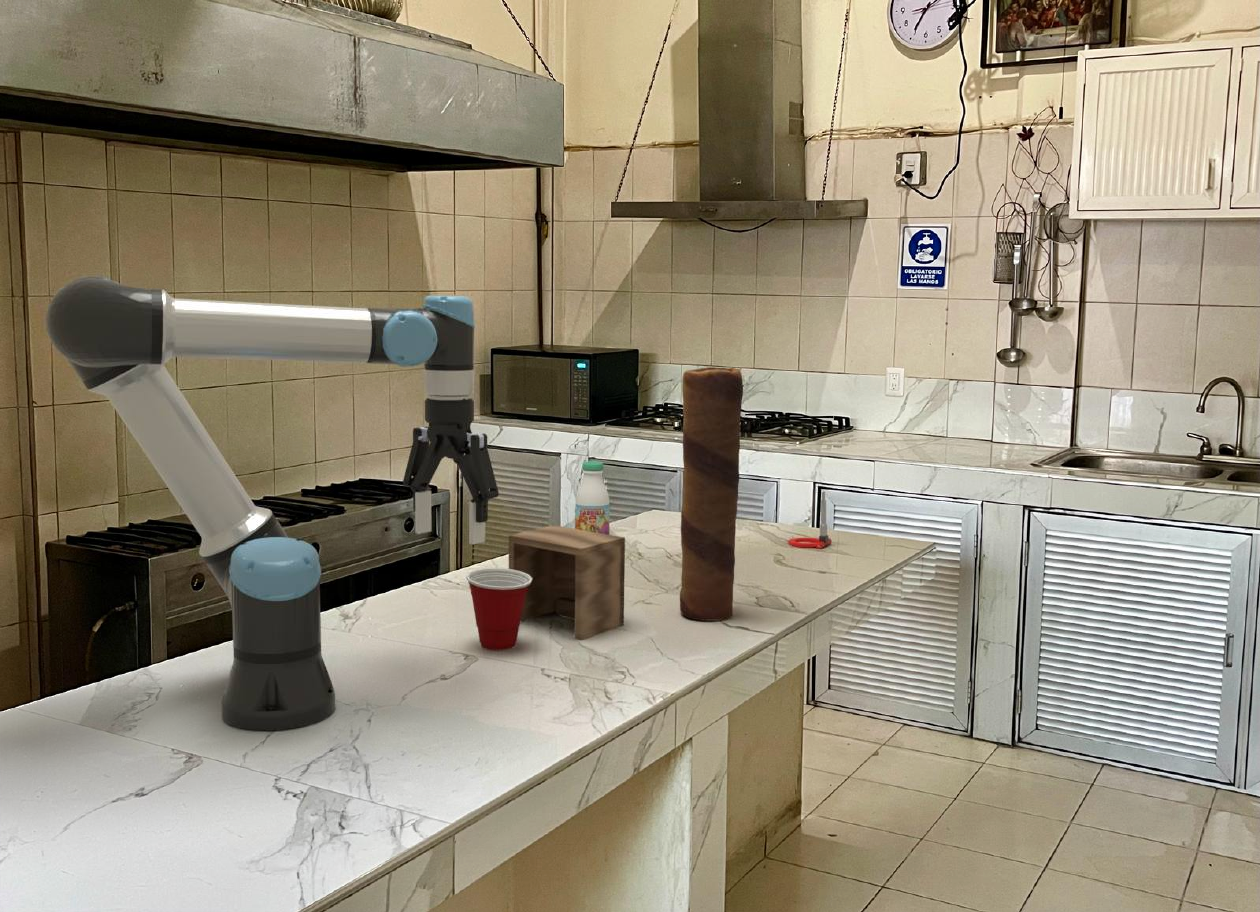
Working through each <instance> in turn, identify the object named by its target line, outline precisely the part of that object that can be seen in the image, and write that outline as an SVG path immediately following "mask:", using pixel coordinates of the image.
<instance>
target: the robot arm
mask: <svg viewBox="0 0 1260 912" xmlns="http://www.w3.org/2000/svg"><path fill="white" fill-rule="evenodd" d="M48 304H49V305H48V307H47V310H46V314H45V326H46V332H47V336H48V338H49V340H50V342H51V343H52V345H53V347H54V348H55V349H56V350H57V351H58V353H59V354H60V355H61V356H63V357H64V358H66V360H67V361H68V363H69V364H70V366H71V368H72V369H73V370H74V371H75V373H76V374H77V376H78V377H79V379H80V381H81V382H82V383H83V384H84V386H85V388H86V389H87V391H89V392H90V393H94V394H98V395H102V396H104V397H106V398H107V399H108V401H109V403H110V404H111V405H112V407H113V408H114V409H115V411H116V413H117V414H118V416H119V417H120V418H121V420H122V422H123V423H124V424H125V426H126V427H127V429H128V430H129V432H130V433H131V435H132V437H133V438H134V439H135V440H136V442H137V444H138V445H139V446H140V448H141V450H142V451H143V453H144V454H145V455H146V457H147V458H148V460H149V462H150V463H151V465H152V466H153V468H154V469H155V470H156V472H157V474H158V475H159V476H160V477H161V480H162V481H163V483H164V484H165V486H166V487H167V488H168V489H169V491H170V493H171V494H172V495H173V498H174V499H175V500H176V502H177V503H178V504H179V506H180V508H181V510H183V512H184V514H185V515H186V517H187V518H188V520H189V521H190V522H191V524H192V525H193V527H194V528H195V530H196V532H197V533H198V534H199V536H200V537H201V543H200V546H199V551H198V554H199V555H200V557H201V558H202V560H203V561H204V562H205V564H206V566H207V567H208V569H209V570H210V572H211V573H212V575H213V576H214V577H215V579H216V581H217V582H218V583H219V585H220V586H221V588H222V589H223V591H224V593H225V595H226V596H227V598H228V601H229V603H230V606H231V613H232V615H231V617H232V623H231V624H232V647H233V650H232V651H233V662H232V666H231V669H230V672H229V676H228V679H227V682H226V687H225V690H224V694H223V696H222V699H221V717H222V720H223V722H225V723H227V724H228V725H230V726H232V727H236V728H240V729H245V730H252V731H280V730H288V729H289V730H290V729H295V728H302V727H304V726H309V725H311V724H315V723H317V722H320V721H322V720H324V719H327V718H328V717H329V716H331V715H332V714H333V713H334V712H335V710H336V692H335V687H334V686H333V683H332V680H331V677H330V674H329V672H328V669H327V667H326V664H325V661H324V658H323V654H322V627H321V626H322V622H321V621H322V620H321V619H322V618H321V587H320V586H321V580H320V579H321V575H322V567H321V564H320V559H319V558H320V557H319V553H318V551H317V549H316V548H315V547H314V546H313V545H312V544H311V543H308V542H306V541H305V540H297V539H296V538H292V537H288V534H287V533H286V532H285V530H284V528H283V527H282V525H281V524H280V522H279V521H278V519H277V518H276V517H275V515H274V513H273V511H272V510H271V509H269V508H265V507H260V506H256V505H255V503H254V502H253V501H252V499H251V497H250V495H249V494H248V493H247V491H246V490H245V488H244V486H243V485H242V483H241V482H240V480H239V479H238V478H237V476H236V474H235V473H234V471H233V470H232V468H231V466H230V465H229V464H228V462H227V461H226V459H225V457H224V456H223V453H222V452H221V451H220V450H219V449H218V447H217V445H216V443H214V441H213V439H212V438H211V436H210V434H209V433H208V432H207V429H206V428H205V427H204V425H203V423H202V422H201V421H200V419H199V417H198V416H197V414H196V413H195V412H194V410H193V408H192V407H191V406H190V403H189V401H188V400H187V399H186V398H185V396H184V395H183V393H182V391H181V389H180V388H179V386H177V384H176V382H175V380H174V379H173V378H172V376H171V375H170V373H169V372H168V370H167V368H166V367H165V364H166V363H168V361H169V360H171V359H173V358H194V359H195V358H198V359H199V358H201V359H224V360H225V359H227V360H228V359H232V360H258V361H259V360H260V361H261V360H263V361H287V362H288V361H290V362H291V361H294V362H296V361H297V362H320V363H321V362H322V363H323V362H326V363H327V362H328V363H354V364H358V363H359V364H377V365H398V366H399V367H406V368H407V367H415V366H420V365H422V364H424V367H423V368H424V378H423V379H424V380H423V381H424V385H423V386H424V389H423V390H424V391H423V393H424V394H425V395H426V396H428V397H427V398H425V400H424V421H425V422H426V423H428V426H421V427H420V426H419V427H414V428H413V429H412V445H411V448H410V453H409V457H408V460H407V464H406V468H405V472H404V476H403V480H402V484H403V486H404V487H408V488H410V489H411V491H412V493H413V494H412V501H413V502H412V503H413V504H412V508H413V512H415V513H414V516H415V521H414V522H415V534H418V535H420V534H425V533H429V532H432V490H430V489H431V487H430V484H431V481H432V479H433V478H434V475H435V474H436V472H437V469H438V467H439V465H440V463H441V461H442V459H444V458H445V457H446V458H448V459H450V460H451V459H452V461H453V462H454V463H455V464H456V465H457V466H458V468H459V470H460V472H461V475H462V478H463V480H464V482H465V484H466V486H467V489H468V491H469V493H470V495H471V500H469V502H468V514H469V515H468V543H469V545H475V544H480V543H481V544H482V543H485V542H486V523H487V521H488V519H489V517H488V515H489V508H488V507H489V505H488V504H489V501H490V500H491V499H494V498H498V497H499V495H500V492H499V489H498V485H497V481H496V477H495V472H494V468H493V465H492V461H491V457H490V454H489V449H488V435H487V434H486V433H479V434H478V433H477V434H476V433H473V432H472V429H471V425H472V423H473V422H474V420H475V400H474V399H473V398H471V396H473V395H474V394H475V389H474V388H475V387H474V386H475V384H474V383H475V379H474V378H475V366H474V364H475V363H474V360H475V359H474V357H475V355H474V354H475V329H476V325H475V315H474V314H475V313H474V303H473V301H472V299H471V298H470V297H468V296H465V295H464V296H463V295H460V296H459V295H427V296H425V297H424V299H423V305H422V307H420V308H393V307H392V308H391V307H389V308H388V307H386V308H385V307H382V308H381V307H369V306H368V307H359V308H358V307H342V306H341V307H340V306H324V305H323V306H322V305H305V304H290V303H289V304H287V303H267V302H252V301H251V302H249V301H248V302H247V301H246V302H245V301H232V300H231V301H229V300H215V299H214V300H210V299H194V298H191V299H190V298H175V297H173V296H171V294H169V293H168V292H167V291H165V289H155V288H153V289H151V288H142V287H137V286H136V287H135V286H130V285H124V284H121V283H119V282H117V281H114V280H112V279H110V278H105V277H102V276H84V277H80V278H79V279H76V280H73V281H70V282H68V283H67V284H65V285H64V286H63V287H61V288H59V289H58V291H57V292H56V293H55V295H54V296H52V299H51V300H50V303H48Z"/></svg>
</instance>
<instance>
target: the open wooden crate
mask: <svg viewBox="0 0 1260 912" xmlns="http://www.w3.org/2000/svg"><path fill="white" fill-rule="evenodd" d="M625 554H626V537H624V536H618V535H613V534H609V535H607V534H602V533H596V532H590V531H584V530H579V529H575V528H572V527H566V526H561V525H555V524H554V525H553V524H551V525H549V526H548V525H547V526H544V527H540V528H535V529H532V530H531V529H530V530H527V531H522V532H519V533H518V532H517V533H512V534H509V535H508V569H512V570H517V571H521V572H524V573H526V574H528V575H530V576H531V577H532V581H531V583H530V585H529V586H528V589H527V591H526V595H525V599H524V605H523V610H522V616H521V621H520V623H521V622H524V621H527V620H528V621H529V620H531V619H533V618H538V617H540V616H543V615H547V614H549V613H553V612H555V613H556V615H557V616H561V617H565V618H569V619H573V620H574V639H575V640H578V641H581V640H582V641H583V640H585V639H588V638H591V637H593V636H596V635H599V634H602V633H605V632H608V631H611V630H612V629H616V628H618V627H619V628H620V627H622V626H624V624H625V572H626V571H625V570H626V569H625V566H626V565H625V564H626V563H625V562H626V561H625V560H626V559H625V558H626V557H625Z"/></svg>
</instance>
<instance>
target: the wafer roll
mask: <svg viewBox="0 0 1260 912" xmlns="http://www.w3.org/2000/svg"><path fill="white" fill-rule="evenodd" d="M682 375H683V376H682V380H681V381H682V383H681V385H682V386H681V391H682V413H683V422H682V453H683V454H682V460H683V474H682V493H681V494H682V497H681V499H682V502H681V512H680V518H681V519H680V537H681V538H680V542H681V544H680V545H681V552H682V553H681V555H682V557H681V576H680V577H681V578H680V579H681V587H680V592H679V611H680V613H681V614H682V616H684V617H687V618H688V619H689V618H690V619H694V620H699V621H722V620H728V619H730V618H732V616H733V615H734V613H733V612H734V611H733V610H734V609H733V608H734V607H733V601H734V582H735V564H736V556H735V550H736V549H735V546H736V533H737V532H736V531H737V529H736V520H737V514H738V501H739V484H740V450H741V440H740V431H741V415H742V401H743V396H744V385H743V383H744V382H743V376H742V372H741V370H740V369H739V368H736V367H729V368H726V367H710V366H708V367H702V368H695V369H688V370H685V371H684V372H683V374H682Z"/></svg>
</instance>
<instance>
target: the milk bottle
mask: <svg viewBox="0 0 1260 912" xmlns="http://www.w3.org/2000/svg"><path fill="white" fill-rule="evenodd" d="M582 473H583V475H582V481H581V483H580V486H579V488H578V490H577V493H576V497H575V509H574V511H575V513H574V514H575V515H574V517H575V518H574V529H579V530H584V531H590V532H596V533H602V534H607V535H610V521H611V520H610V514H611V513H610V512H611V511H610V496H609V491H608V490H607V487H606V484H605V482H604V478H603V473H604V463H603V462H601V461H584V462H582Z"/></svg>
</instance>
